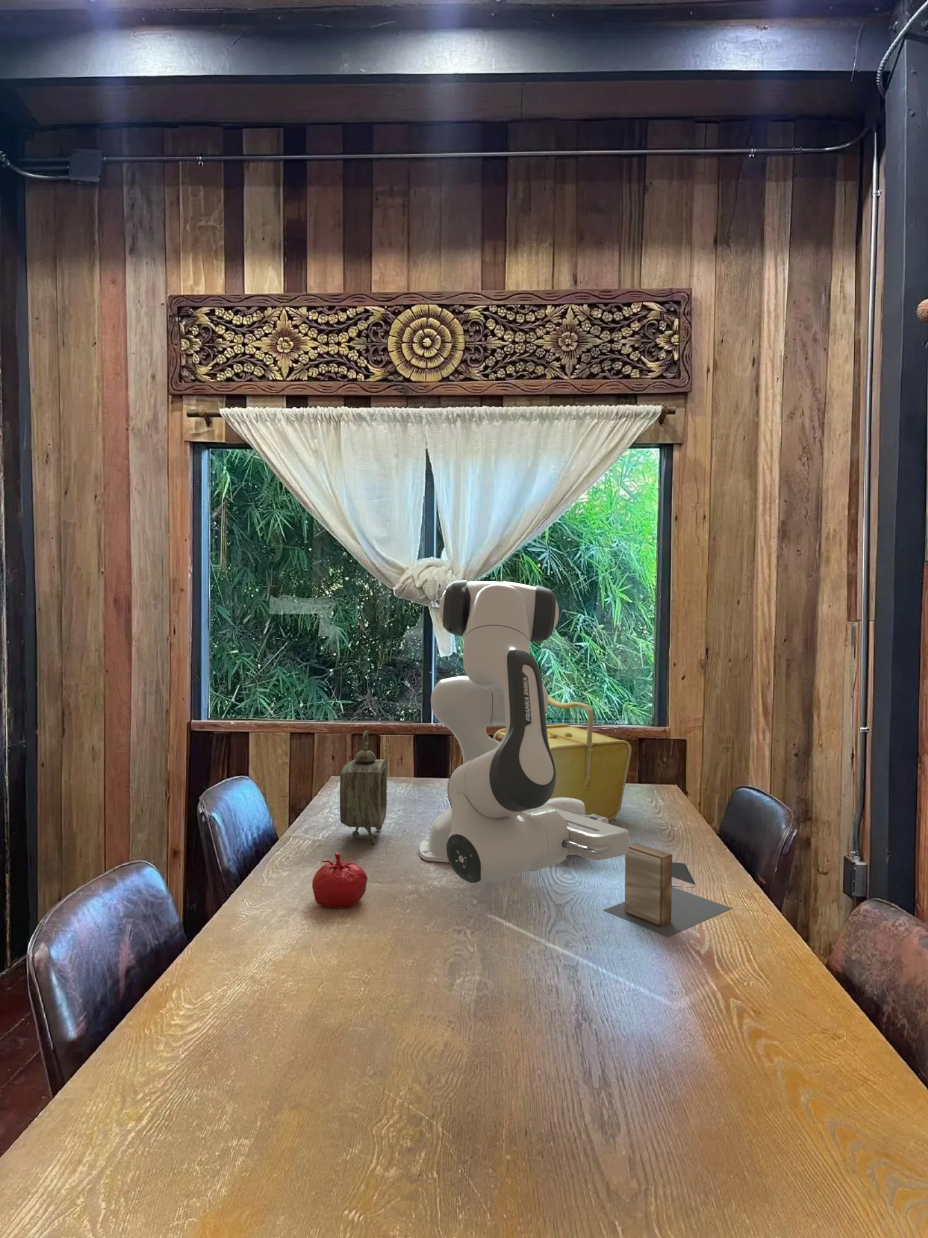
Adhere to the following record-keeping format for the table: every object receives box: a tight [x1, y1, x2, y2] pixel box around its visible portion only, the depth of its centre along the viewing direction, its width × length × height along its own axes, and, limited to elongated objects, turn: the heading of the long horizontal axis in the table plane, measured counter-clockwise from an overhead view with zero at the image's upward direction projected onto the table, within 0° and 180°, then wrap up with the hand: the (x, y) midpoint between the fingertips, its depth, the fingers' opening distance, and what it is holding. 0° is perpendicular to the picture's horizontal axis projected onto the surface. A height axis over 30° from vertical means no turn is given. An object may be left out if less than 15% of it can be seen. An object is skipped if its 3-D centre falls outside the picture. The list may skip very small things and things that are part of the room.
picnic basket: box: [492, 695, 632, 822], centre depth 204 cm, size 29×26×30 cm
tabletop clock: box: [339, 730, 388, 846], centre depth 182 cm, size 14×9×25 cm, turn 179°
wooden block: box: [624, 842, 673, 927], centre depth 136 cm, size 3×8×12 cm, turn 39°
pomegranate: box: [311, 852, 368, 909], centre depth 144 cm, size 10×10×9 cm
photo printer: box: [544, 797, 585, 856], centre depth 172 cm, size 10×4×12 cm, turn 98°
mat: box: [602, 887, 733, 938], centre depth 140 cm, size 19×14×1 cm
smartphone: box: [672, 861, 696, 889], centre depth 158 cm, size 7×1×15 cm
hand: (601, 820), depth 128 cm, fingers closed
